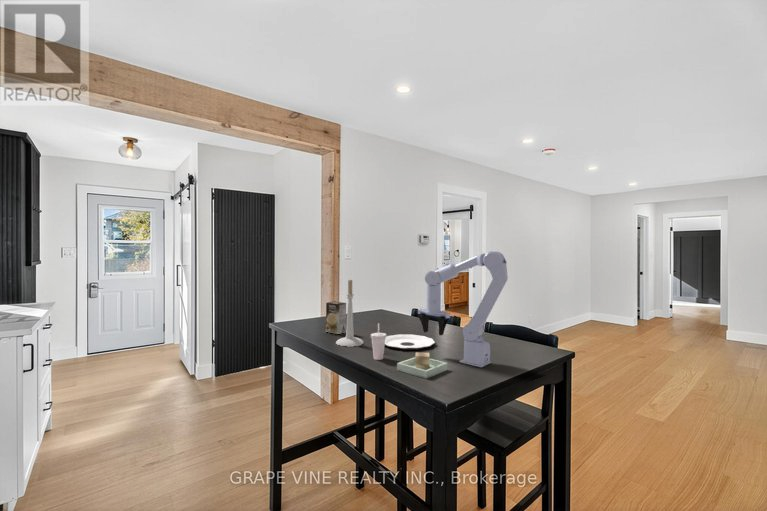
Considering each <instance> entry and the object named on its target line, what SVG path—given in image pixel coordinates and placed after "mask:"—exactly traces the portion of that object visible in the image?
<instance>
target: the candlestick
mask: <svg viewBox="0 0 767 511" xmlns="http://www.w3.org/2000/svg"><path fill="white" fill-rule="evenodd" d="M354 295H355V294H353V279H348V280H347V293H346V296H347V297H346V298H347V300H348V301H347V310H346V333H345V337H341V338H339V339H337V340H336V341H335V345H336V344H337V345H336V346H338V345H340V346H339V347H342V346H347V347H346V348H353V347H354V346H356V347H361V346H362V344H363V345H364V341H363V339H361V338H359V337H356V336H354V335H355V334H354V314H353V310H354V309H353V298H354Z"/></svg>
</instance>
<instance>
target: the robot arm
mask: <svg viewBox="0 0 767 511" xmlns="http://www.w3.org/2000/svg"><path fill="white" fill-rule="evenodd" d="M476 266H479V267H486V268H487V270H488V271H489V273H490V274H491V278H492V280H491V282H490V284H489V286H488V288H487V289H486V291H485V294H483V297H482V299H481V301H480V303H479V304H478V307H477V309H476V311H475V313H474V315H473V316H472V317H471V319H470V320H469V322H468V323H467V324H466V325H464V327H463V328H462V335H463V359H460V360H459V363H462V364H466V365H470V366H474V367H478V368H483V367H486V366H488V365H489V364H491V363H492V361H491V345H490V343H489V342H487V341H485V340H484V337H483V334H484V332H485V325H486V323H487V319H488V317H489V316H490V314H491V312H492V310H493V308H494V306H495V304H496V302H497V301H498V298H499V297H500V295H501V293H502V291H503V289H504V287H505V285H506V283H507V282H508V278H509V276H508V268H507V267H508V266H507V260H506V258H505V256H504V255H503V253H502V252H500V251H488V252H486V253H480V254H477V255H475V256H472V257H470V258H468V259H465V260H464V261H462V262H460V263H456V264H455V263H452V262H450V263H449V262H447V263H445V264H444V266H441V267H440V268H438V267H436V268H435V269H434V271H433V270H429V271H428V272H427V273H426V274H425V277H424V282H426V309H425V308H419V309H417V314H418V319H419V321H420V323H421V326H422V331H423V333H428V332H429V323H430V322H429V321H430V317H431V316H433V317H437V323H438V335H439V336H443V335H444V332H445V329H446V326H447V324H448V322H449V320H450V318H451V312H447V311H443V310H441V309H442V308H441V307H442V306H441V304H442V301H441V300H442V299H441V298H442V297H441V296H442V292H441V291H442V285H441V284H442V283H445V282H447V281H449V280H451V279H452V280H453V279H454V278H457V277H458V275H459V273H460V272H463V271H466V270H469V269H472V268H473V267H476Z"/></svg>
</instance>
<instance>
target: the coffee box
mask: <svg viewBox="0 0 767 511" xmlns="http://www.w3.org/2000/svg"><path fill="white" fill-rule="evenodd" d="M325 305H326V306H325V333H326V332H330V333H335V334H341V333H344V334H346V333H345V332H346V328H347V302H341V301H328V302H326V303H325ZM330 333H329V334H330ZM335 334H334V335H335ZM341 335H342V334H341Z"/></svg>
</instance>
